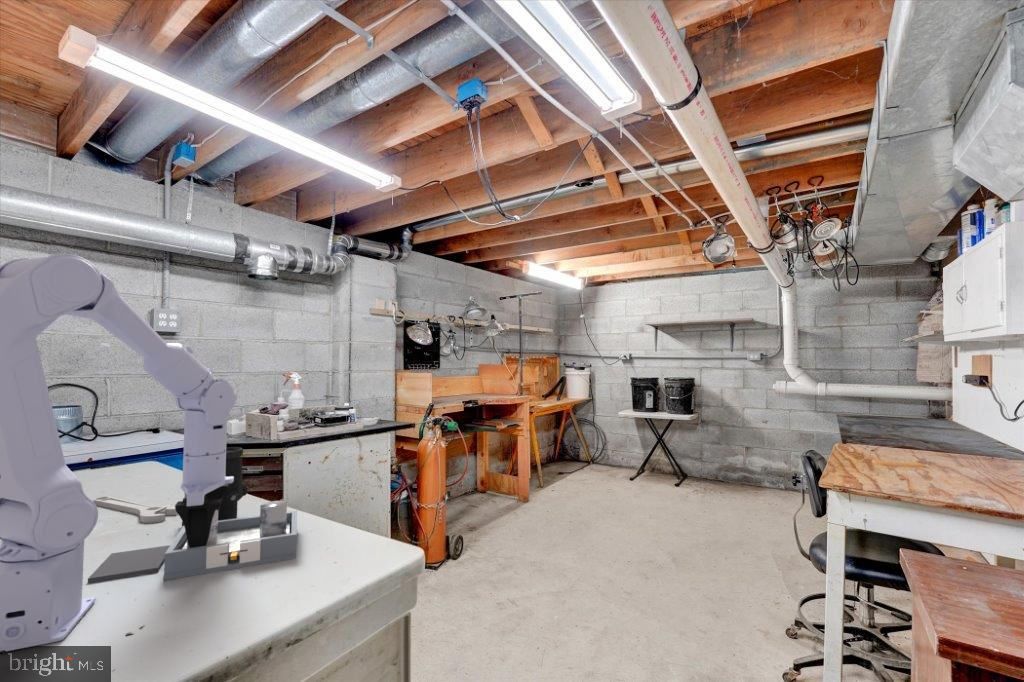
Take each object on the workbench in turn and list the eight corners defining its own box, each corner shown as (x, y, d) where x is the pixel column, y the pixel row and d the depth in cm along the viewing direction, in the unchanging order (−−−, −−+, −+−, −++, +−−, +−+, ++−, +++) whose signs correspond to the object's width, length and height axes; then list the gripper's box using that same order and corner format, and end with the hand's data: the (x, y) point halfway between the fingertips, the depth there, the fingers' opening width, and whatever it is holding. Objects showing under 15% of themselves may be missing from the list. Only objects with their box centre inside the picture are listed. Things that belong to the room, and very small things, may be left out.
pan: (288, 551, 71) (288, 546, 71) (172, 570, 65) (172, 564, 65) (289, 526, 82) (289, 522, 82) (190, 540, 75) (190, 535, 75)
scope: (182, 452, 86) (238, 444, 94) (179, 526, 85) (236, 511, 93) (199, 457, 81) (257, 449, 89) (196, 536, 80) (255, 520, 89)
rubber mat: (157, 571, 67) (158, 567, 67) (87, 582, 64) (87, 578, 64) (172, 548, 75) (173, 544, 75) (111, 557, 72) (111, 553, 72)
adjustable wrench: (89, 506, 97) (90, 498, 98) (126, 498, 103) (126, 490, 103) (148, 526, 86) (148, 516, 86) (185, 516, 91) (186, 507, 92)
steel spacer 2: (285, 536, 75) (286, 506, 76) (258, 540, 74) (259, 509, 74) (286, 528, 79) (287, 499, 79) (260, 532, 77) (261, 502, 77)
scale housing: (296, 558, 72) (296, 535, 72) (163, 580, 65) (164, 554, 65) (296, 529, 84) (296, 510, 84) (183, 545, 76) (184, 524, 76)
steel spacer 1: (215, 547, 71) (216, 515, 71) (184, 551, 69) (185, 518, 70) (219, 537, 75) (220, 507, 75) (189, 541, 73) (190, 510, 73)
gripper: (228, 459, 68) (225, 551, 67) (239, 442, 81) (237, 519, 80) (170, 464, 65) (167, 560, 64) (191, 445, 78) (189, 525, 77)
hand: (202, 538), depth 72 cm, fingers open, 6 cm apart
